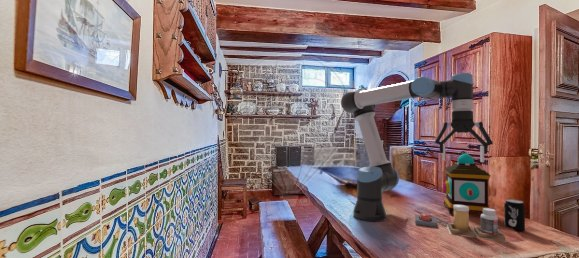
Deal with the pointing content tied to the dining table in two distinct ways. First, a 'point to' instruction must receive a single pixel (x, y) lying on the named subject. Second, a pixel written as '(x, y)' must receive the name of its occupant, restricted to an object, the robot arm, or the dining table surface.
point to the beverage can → (514, 214)
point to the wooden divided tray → (475, 233)
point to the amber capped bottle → (461, 217)
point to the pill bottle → (489, 221)
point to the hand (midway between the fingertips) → (462, 161)
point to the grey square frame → (425, 222)
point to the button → (425, 217)
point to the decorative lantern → (466, 185)
